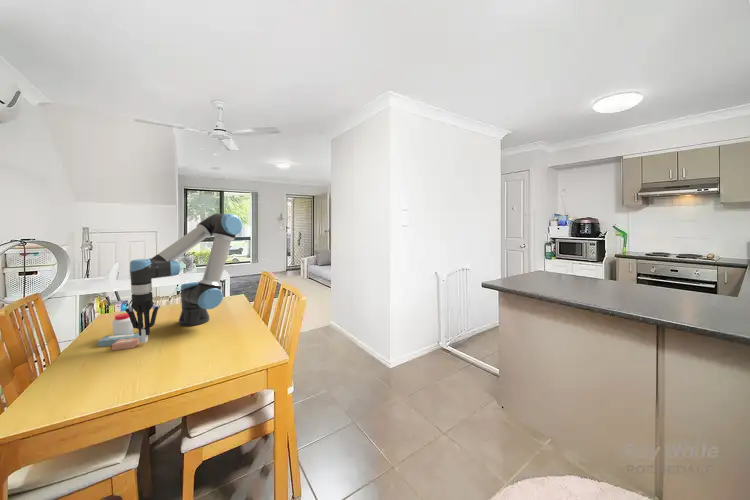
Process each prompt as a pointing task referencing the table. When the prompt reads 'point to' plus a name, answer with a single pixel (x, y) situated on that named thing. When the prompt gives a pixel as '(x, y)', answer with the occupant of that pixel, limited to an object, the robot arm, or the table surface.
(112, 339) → the blue labeled box
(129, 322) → the pill bottle
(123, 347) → the pink labeled box
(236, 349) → the table surface
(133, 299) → the robot arm
